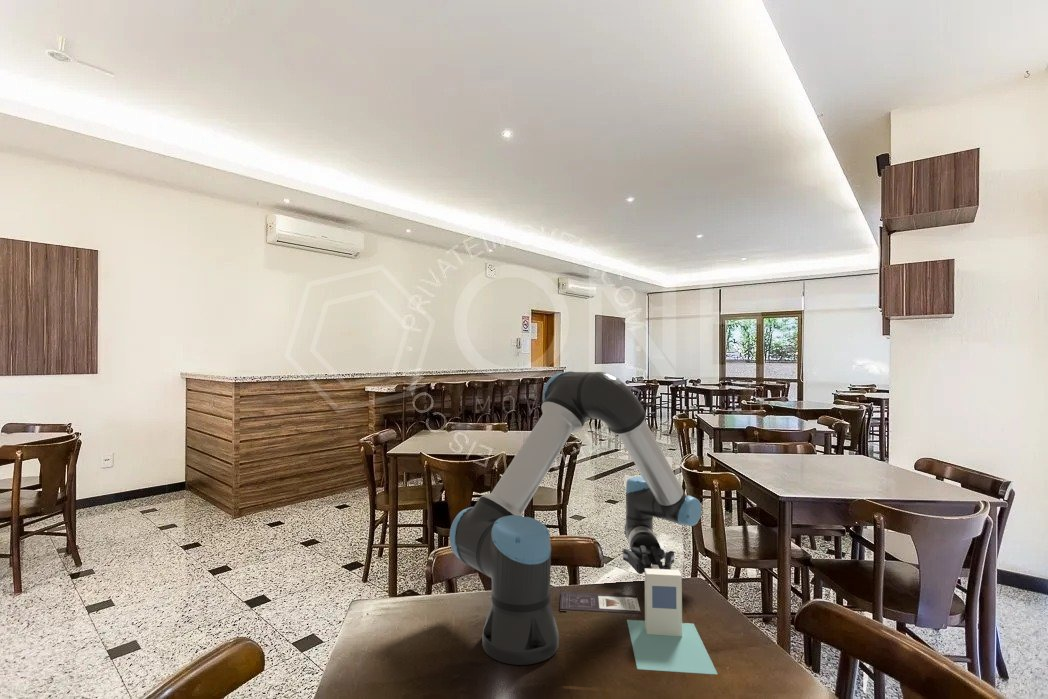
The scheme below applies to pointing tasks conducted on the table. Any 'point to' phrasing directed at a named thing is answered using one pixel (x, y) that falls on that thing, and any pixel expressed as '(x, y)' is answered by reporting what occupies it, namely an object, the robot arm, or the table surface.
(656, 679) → the table surface
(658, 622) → the card box
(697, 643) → the mat
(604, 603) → the chocolate bar
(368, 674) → the table surface
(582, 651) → the table surface
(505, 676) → the table surface
